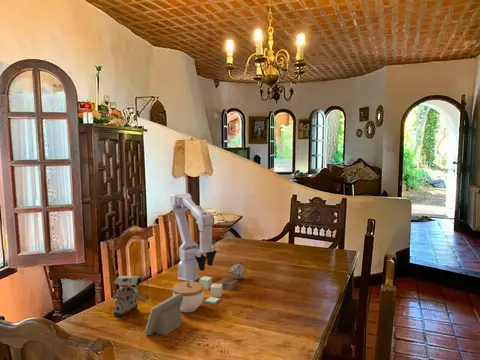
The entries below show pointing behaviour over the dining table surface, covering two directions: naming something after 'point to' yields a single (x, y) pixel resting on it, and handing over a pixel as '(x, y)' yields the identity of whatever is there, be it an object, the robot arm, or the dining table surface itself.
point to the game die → (237, 271)
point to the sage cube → (206, 282)
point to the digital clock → (165, 316)
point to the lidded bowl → (189, 295)
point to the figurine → (126, 294)
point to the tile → (212, 300)
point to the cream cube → (216, 290)
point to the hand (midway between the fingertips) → (206, 267)
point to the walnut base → (228, 283)
